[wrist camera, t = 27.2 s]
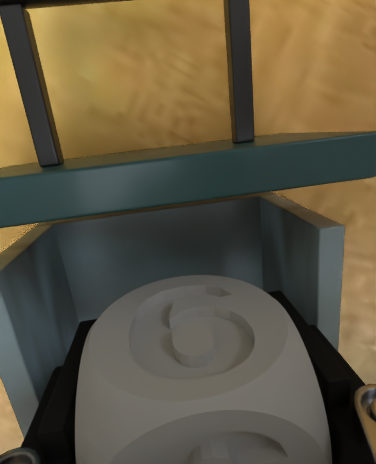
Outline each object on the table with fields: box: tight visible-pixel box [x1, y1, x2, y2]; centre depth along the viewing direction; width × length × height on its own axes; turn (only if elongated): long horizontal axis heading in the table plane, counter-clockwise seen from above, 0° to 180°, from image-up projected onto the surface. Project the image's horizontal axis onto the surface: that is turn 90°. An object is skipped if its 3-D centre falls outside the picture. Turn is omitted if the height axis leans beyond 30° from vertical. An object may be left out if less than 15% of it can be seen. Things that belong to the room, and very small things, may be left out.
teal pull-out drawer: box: [0, 0, 376, 438], centre depth 11 cm, size 18×12×6 cm, turn 6°
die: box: [75, 275, 332, 464], centre depth 8 cm, size 5×5×5 cm
